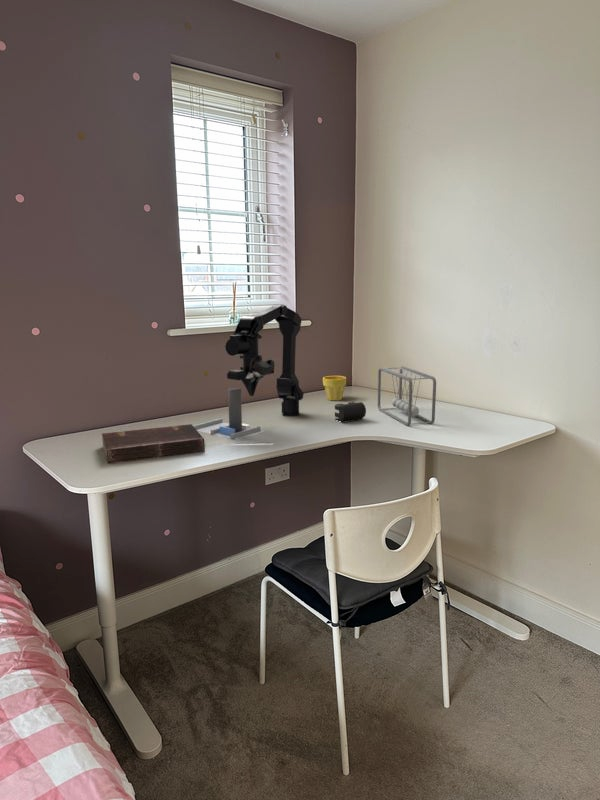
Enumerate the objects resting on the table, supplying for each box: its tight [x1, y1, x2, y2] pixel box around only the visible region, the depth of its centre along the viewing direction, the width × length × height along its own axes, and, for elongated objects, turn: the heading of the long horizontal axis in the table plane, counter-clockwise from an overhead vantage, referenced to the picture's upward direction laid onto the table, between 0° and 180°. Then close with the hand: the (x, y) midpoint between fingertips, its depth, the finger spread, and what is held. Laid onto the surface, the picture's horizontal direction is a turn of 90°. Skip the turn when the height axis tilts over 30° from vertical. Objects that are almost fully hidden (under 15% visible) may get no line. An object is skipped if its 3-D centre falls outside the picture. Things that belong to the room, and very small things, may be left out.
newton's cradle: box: [377, 365, 437, 427], centre depth 220 cm, size 30×10×18 cm, turn 15°
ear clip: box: [242, 422, 251, 430], centre depth 202 cm, size 4×2×1 cm, turn 52°
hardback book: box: [101, 423, 206, 465], centre depth 182 cm, size 29×19×5 cm, turn 113°
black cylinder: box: [334, 401, 367, 423], centre depth 216 cm, size 10×7×7 cm
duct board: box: [192, 417, 265, 441], centre depth 202 cm, size 24×14×3 cm, turn 52°
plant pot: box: [322, 375, 347, 401], centre depth 254 cm, size 10×10×10 cm
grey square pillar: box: [227, 387, 243, 433], centre depth 198 cm, size 4×4×15 cm
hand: (251, 395), depth 204 cm, fingers closed
